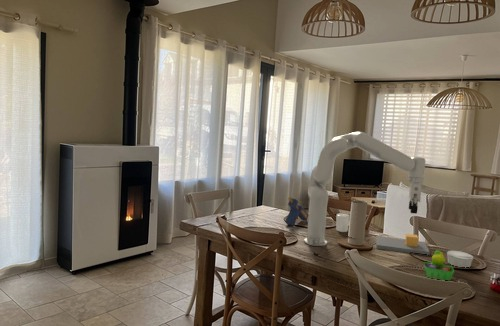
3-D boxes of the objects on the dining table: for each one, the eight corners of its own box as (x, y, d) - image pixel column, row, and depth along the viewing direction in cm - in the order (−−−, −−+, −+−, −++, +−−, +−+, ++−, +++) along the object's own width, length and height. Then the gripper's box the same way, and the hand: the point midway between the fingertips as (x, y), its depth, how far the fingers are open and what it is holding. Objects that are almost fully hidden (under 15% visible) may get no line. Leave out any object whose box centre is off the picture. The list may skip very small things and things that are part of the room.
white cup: (339, 228, 237) (340, 212, 236) (350, 231, 231) (351, 215, 230) (332, 230, 231) (334, 214, 230) (343, 233, 226) (345, 217, 225)
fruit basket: (424, 278, 162) (426, 253, 161) (422, 271, 170) (424, 247, 169) (453, 283, 158) (456, 258, 157) (450, 276, 166) (453, 251, 165)
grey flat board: (429, 255, 192) (429, 251, 192) (376, 248, 200) (376, 244, 199) (424, 245, 209) (424, 241, 209) (375, 239, 217) (376, 235, 217)
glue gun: (303, 237, 248) (310, 217, 254) (288, 217, 225) (296, 196, 231) (294, 234, 251) (302, 215, 257) (279, 215, 228) (288, 194, 234)
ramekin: (461, 270, 173) (462, 259, 173) (440, 262, 184) (441, 251, 183) (477, 267, 178) (478, 257, 177) (456, 259, 188) (457, 249, 188)
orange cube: (417, 246, 199) (418, 237, 199) (406, 245, 201) (406, 236, 200) (416, 243, 205) (416, 234, 204) (405, 242, 206) (405, 233, 206)
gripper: (425, 182, 190) (422, 215, 192) (421, 178, 207) (418, 209, 208) (409, 181, 193) (406, 213, 194) (406, 177, 209) (403, 207, 211)
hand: (412, 211), depth 201 cm, fingers open, 9 cm apart
